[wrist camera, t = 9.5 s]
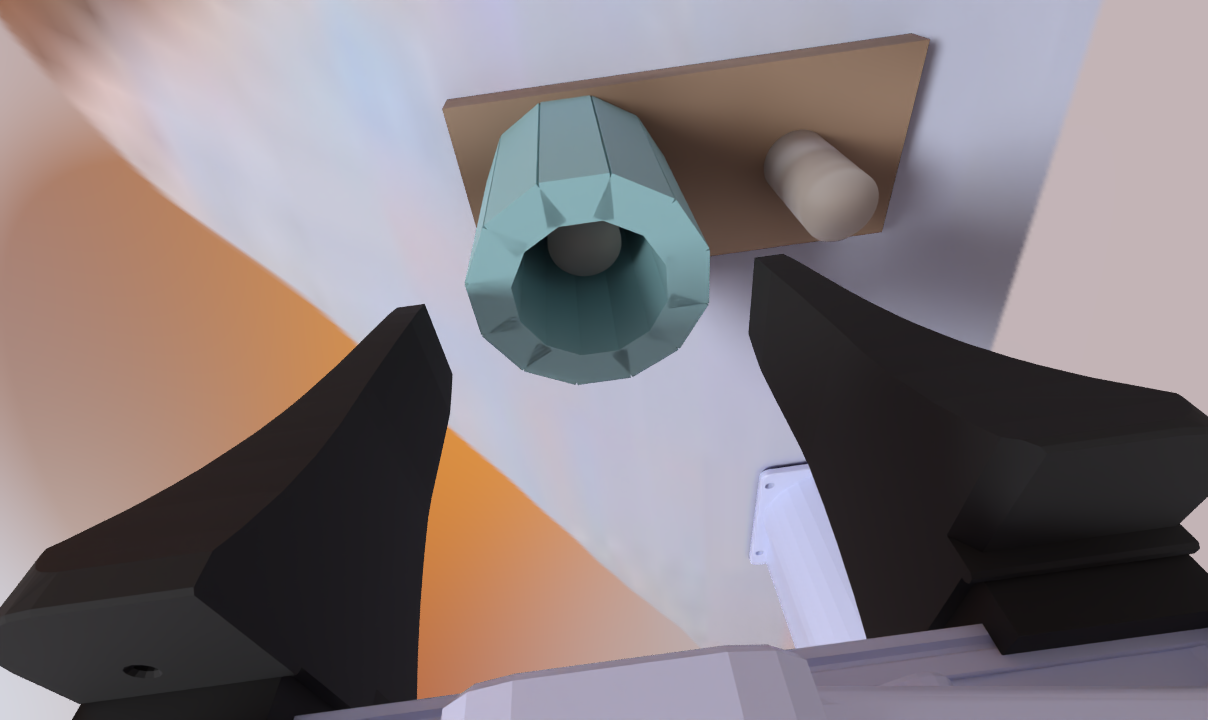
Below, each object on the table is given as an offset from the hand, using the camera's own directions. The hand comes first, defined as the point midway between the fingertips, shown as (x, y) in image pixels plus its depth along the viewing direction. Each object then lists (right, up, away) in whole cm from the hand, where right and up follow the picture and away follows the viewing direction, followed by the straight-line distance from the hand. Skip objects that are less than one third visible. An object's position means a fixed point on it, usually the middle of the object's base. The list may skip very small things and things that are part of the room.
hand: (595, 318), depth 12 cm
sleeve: (-1, +4, +5) cm, 7 cm away
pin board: (+3, +6, +6) cm, 9 cm away
